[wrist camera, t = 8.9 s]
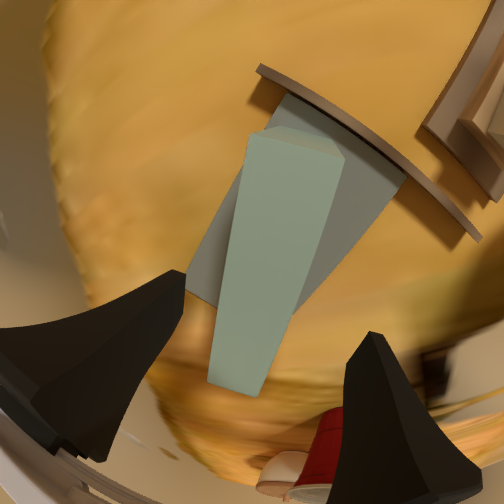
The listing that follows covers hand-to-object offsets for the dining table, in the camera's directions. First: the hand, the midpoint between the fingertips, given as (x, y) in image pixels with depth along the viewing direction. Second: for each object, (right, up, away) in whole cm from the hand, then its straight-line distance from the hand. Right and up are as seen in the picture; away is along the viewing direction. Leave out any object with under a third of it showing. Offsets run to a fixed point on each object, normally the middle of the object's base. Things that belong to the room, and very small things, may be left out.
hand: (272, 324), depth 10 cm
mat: (+1, +4, +10) cm, 10 cm away
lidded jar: (+7, -33, +28) cm, 44 cm away
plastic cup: (+11, -18, +19) cm, 28 cm away
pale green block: (+1, +4, +9) cm, 10 cm away
